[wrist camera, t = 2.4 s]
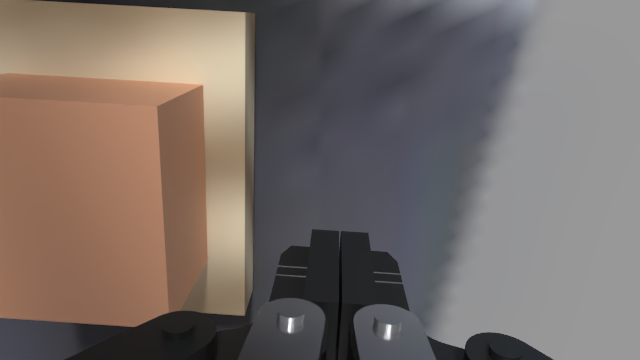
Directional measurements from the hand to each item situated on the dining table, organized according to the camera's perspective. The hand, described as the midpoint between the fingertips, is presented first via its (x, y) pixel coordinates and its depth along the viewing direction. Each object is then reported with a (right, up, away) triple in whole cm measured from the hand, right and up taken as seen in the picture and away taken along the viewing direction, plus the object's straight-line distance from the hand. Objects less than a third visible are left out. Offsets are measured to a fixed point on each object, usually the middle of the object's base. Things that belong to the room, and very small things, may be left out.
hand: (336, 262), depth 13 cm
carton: (-8, +3, +5) cm, 10 cm away
